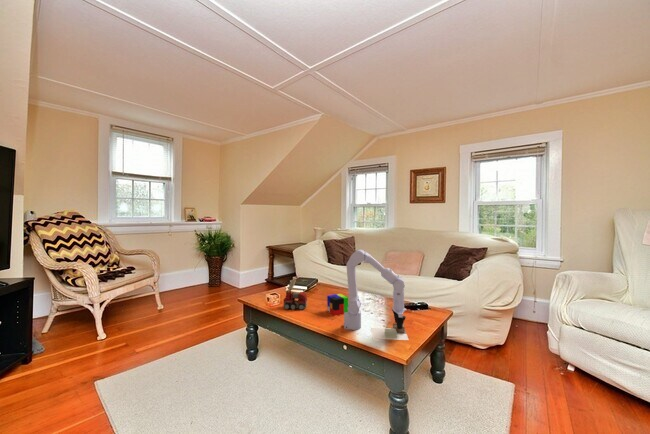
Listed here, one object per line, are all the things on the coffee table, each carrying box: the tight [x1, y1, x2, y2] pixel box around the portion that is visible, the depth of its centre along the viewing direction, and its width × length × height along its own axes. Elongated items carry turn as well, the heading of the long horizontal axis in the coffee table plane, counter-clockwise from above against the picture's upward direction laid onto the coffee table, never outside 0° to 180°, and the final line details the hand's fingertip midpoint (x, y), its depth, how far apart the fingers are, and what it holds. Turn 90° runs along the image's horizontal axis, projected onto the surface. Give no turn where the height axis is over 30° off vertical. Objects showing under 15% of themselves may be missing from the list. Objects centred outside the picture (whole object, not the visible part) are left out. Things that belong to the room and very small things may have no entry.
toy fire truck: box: [283, 279, 308, 311], centre depth 187 cm, size 11×16×18 cm
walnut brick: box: [392, 322, 406, 333], centre depth 146 cm, size 6×4×3 cm
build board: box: [370, 327, 410, 341], centre depth 143 cm, size 18×13×1 cm
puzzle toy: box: [326, 293, 349, 316], centre depth 177 cm, size 10×10×10 cm
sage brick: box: [385, 329, 397, 338], centre depth 140 cm, size 6×4×3 cm
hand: (398, 325), depth 146 cm, fingers open, 7 cm apart
